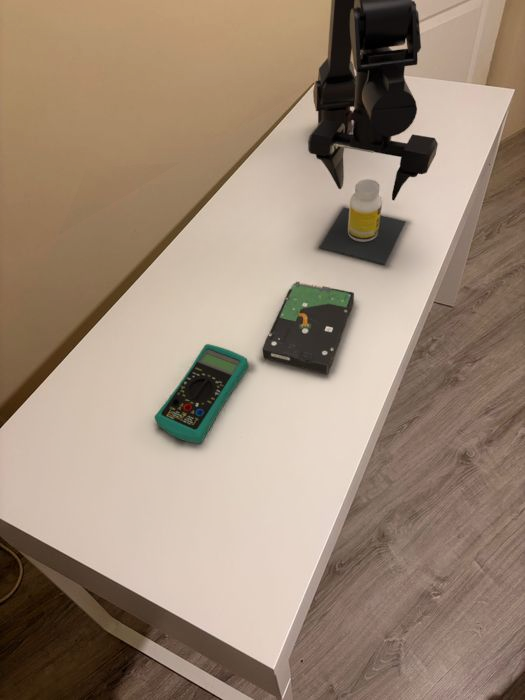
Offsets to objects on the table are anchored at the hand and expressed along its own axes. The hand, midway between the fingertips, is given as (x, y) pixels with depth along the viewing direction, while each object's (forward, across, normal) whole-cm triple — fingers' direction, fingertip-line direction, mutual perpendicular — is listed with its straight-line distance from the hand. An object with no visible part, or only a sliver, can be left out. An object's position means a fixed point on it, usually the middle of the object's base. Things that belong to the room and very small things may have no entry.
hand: (366, 193), depth 82 cm
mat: (+9, 0, 0) cm, 9 cm away
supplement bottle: (+9, 0, 0) cm, 9 cm away
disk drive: (+9, 0, +24) cm, 26 cm away
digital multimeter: (+9, +9, +41) cm, 43 cm away
